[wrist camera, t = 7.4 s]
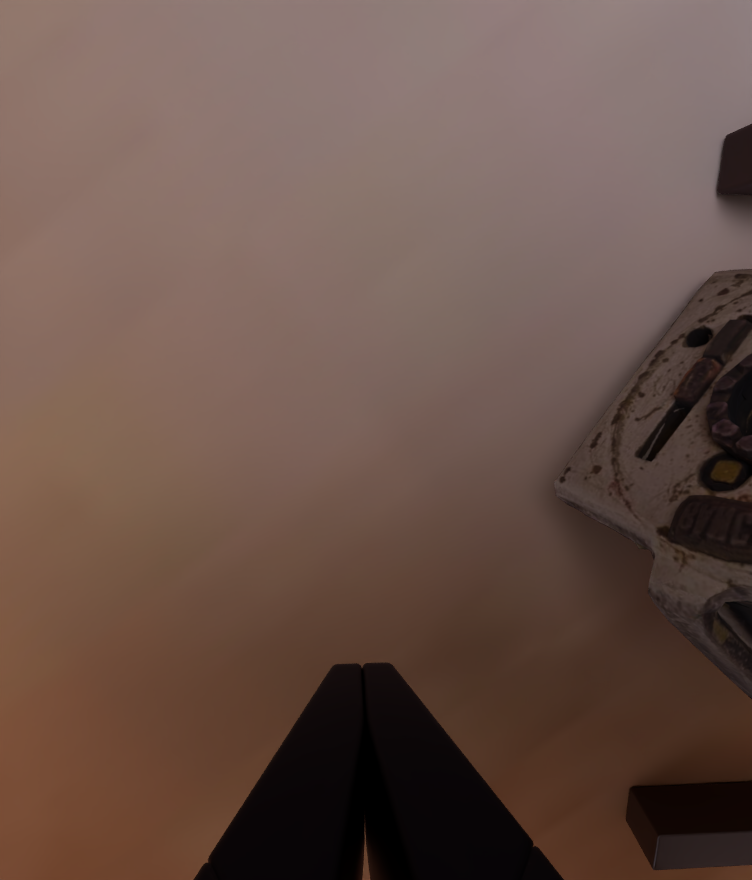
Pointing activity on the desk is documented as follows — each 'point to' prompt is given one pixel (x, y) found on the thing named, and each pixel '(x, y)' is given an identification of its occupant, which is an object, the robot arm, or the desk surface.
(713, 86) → the desk surface
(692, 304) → the mechanical counter
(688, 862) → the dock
